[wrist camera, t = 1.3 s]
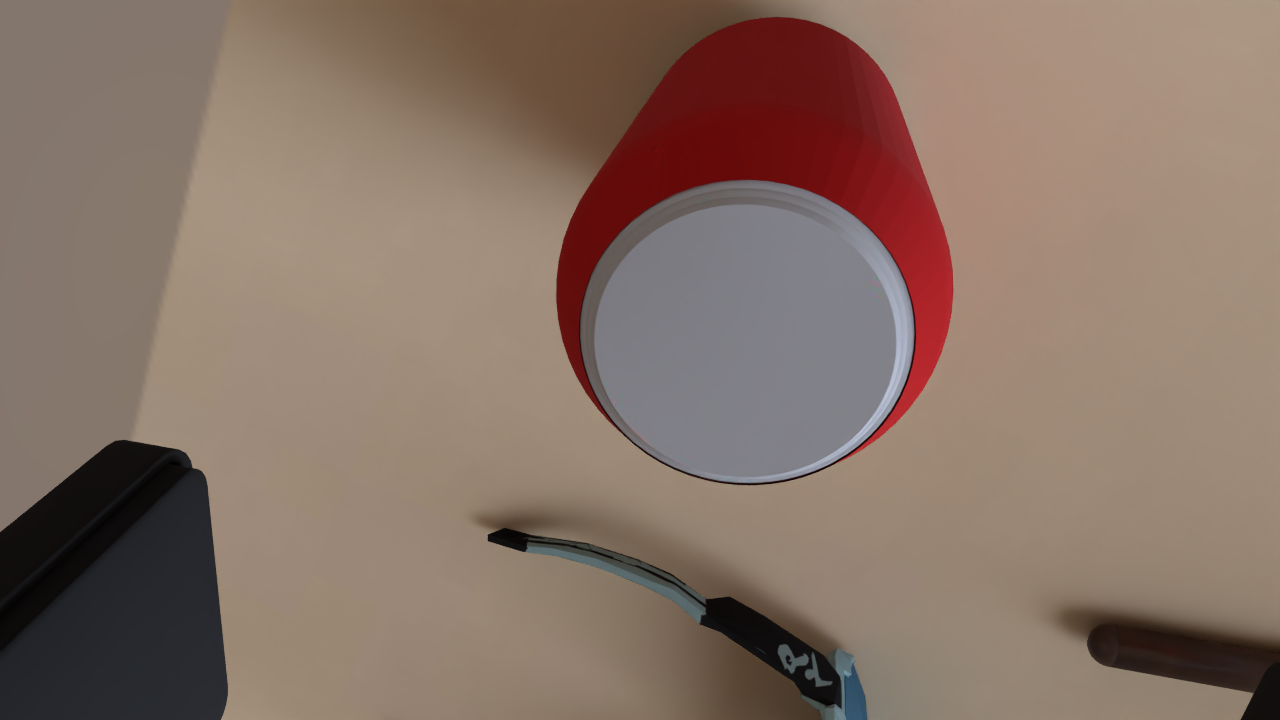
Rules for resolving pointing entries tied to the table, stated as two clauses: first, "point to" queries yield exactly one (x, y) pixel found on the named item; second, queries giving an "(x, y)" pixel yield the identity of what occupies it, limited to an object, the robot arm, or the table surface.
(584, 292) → the beverage can
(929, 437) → the table surface
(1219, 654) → the brown flat paddle
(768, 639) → the sunglasses
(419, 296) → the table surface
